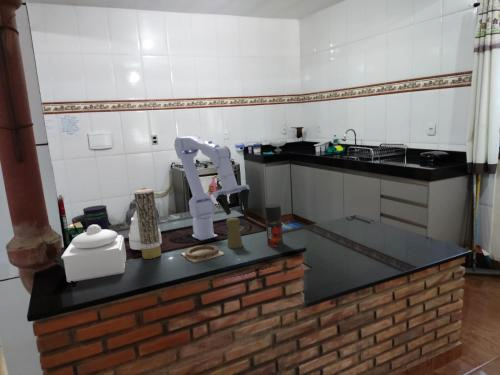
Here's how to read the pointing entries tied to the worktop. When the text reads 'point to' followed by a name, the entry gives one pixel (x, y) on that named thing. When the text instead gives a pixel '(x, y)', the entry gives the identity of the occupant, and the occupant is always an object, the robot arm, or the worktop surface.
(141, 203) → the wooden log
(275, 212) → the deodorant
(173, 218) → the worktop surface
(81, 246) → the butter dish
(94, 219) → the storage jar
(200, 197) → the robot arm
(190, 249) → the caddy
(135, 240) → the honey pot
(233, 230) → the khaki cylinder
